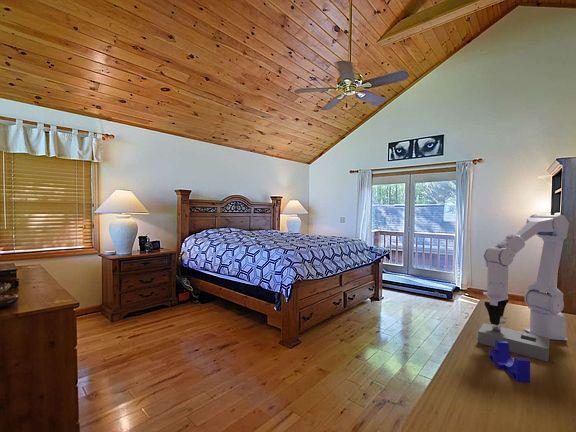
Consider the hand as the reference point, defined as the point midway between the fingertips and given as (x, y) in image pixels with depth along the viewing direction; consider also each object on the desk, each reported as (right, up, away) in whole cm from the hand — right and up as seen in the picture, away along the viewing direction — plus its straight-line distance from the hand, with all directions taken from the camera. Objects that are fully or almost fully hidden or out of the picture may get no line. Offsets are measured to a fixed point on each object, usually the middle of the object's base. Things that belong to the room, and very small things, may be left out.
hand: (496, 321), depth 101 cm
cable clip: (-9, -8, -17) cm, 21 cm away
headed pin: (0, -3, 0) cm, 3 cm away
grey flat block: (+3, -7, -3) cm, 9 cm away
